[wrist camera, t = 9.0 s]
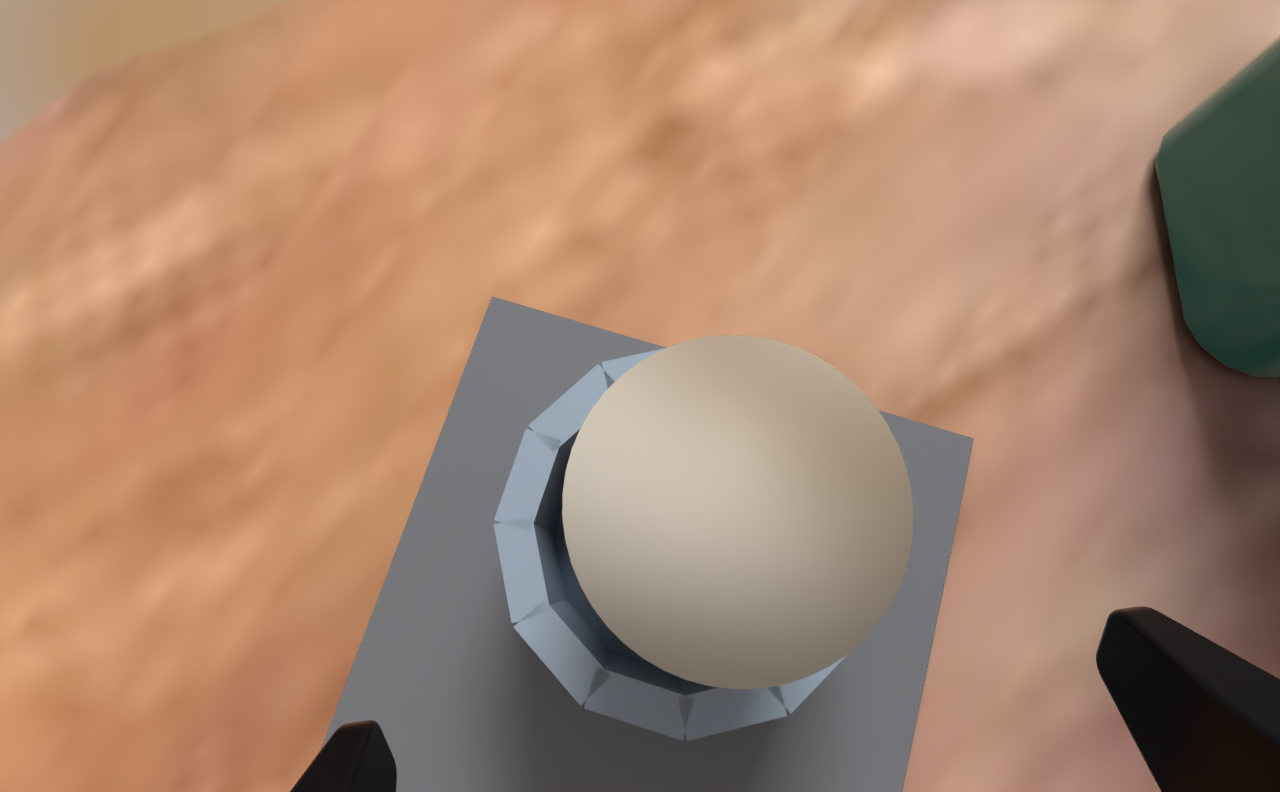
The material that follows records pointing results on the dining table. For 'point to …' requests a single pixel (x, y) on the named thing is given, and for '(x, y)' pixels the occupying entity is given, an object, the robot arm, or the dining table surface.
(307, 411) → the dining table surface
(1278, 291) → the green bottle
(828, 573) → the stopper
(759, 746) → the mat
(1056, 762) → the dining table surface
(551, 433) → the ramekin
